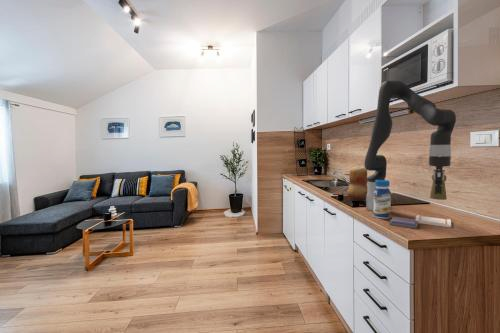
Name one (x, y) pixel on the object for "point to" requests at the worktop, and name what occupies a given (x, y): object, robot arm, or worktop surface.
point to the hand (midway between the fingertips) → (438, 193)
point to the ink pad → (404, 222)
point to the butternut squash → (357, 183)
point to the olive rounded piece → (443, 192)
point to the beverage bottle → (382, 199)
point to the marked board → (433, 221)
